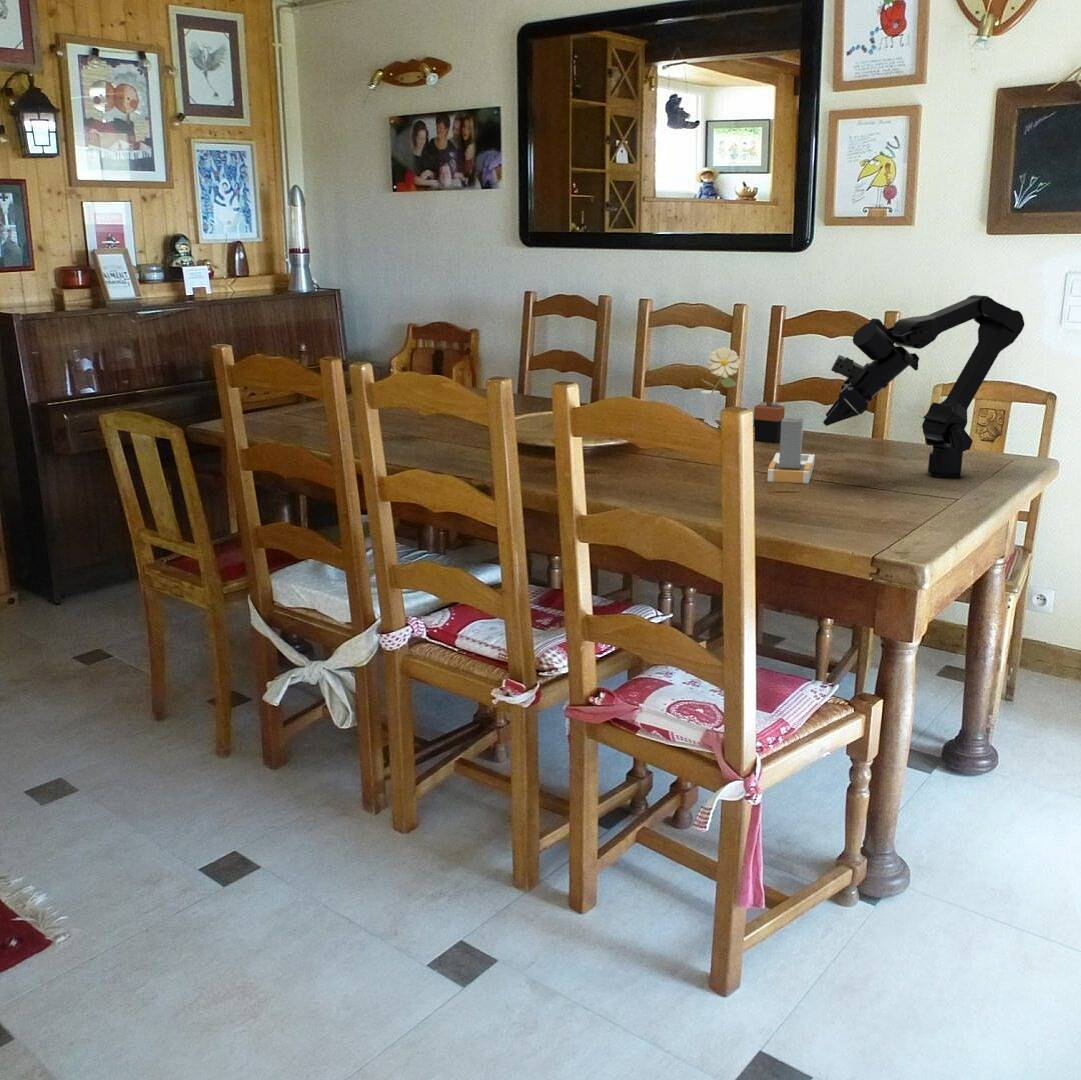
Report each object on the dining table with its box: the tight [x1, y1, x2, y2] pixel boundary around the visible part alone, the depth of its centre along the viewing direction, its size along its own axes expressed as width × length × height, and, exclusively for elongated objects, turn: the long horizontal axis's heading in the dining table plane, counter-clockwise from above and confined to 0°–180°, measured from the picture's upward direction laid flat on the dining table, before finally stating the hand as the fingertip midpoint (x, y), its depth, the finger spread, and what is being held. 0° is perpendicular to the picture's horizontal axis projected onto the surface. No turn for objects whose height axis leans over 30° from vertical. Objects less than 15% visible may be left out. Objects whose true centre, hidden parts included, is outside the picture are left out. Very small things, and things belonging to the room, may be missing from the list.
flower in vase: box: [700, 346, 741, 428], centre depth 269 cm, size 13×11×25 cm
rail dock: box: [766, 452, 816, 484], centre depth 242 cm, size 9×19×3 cm, turn 163°
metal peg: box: [779, 417, 804, 471], centre depth 236 cm, size 4×4×13 cm
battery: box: [753, 401, 786, 444], centre depth 277 cm, size 4×7×10 cm, turn 53°
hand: (825, 420), depth 232 cm, fingers open, 9 cm apart
